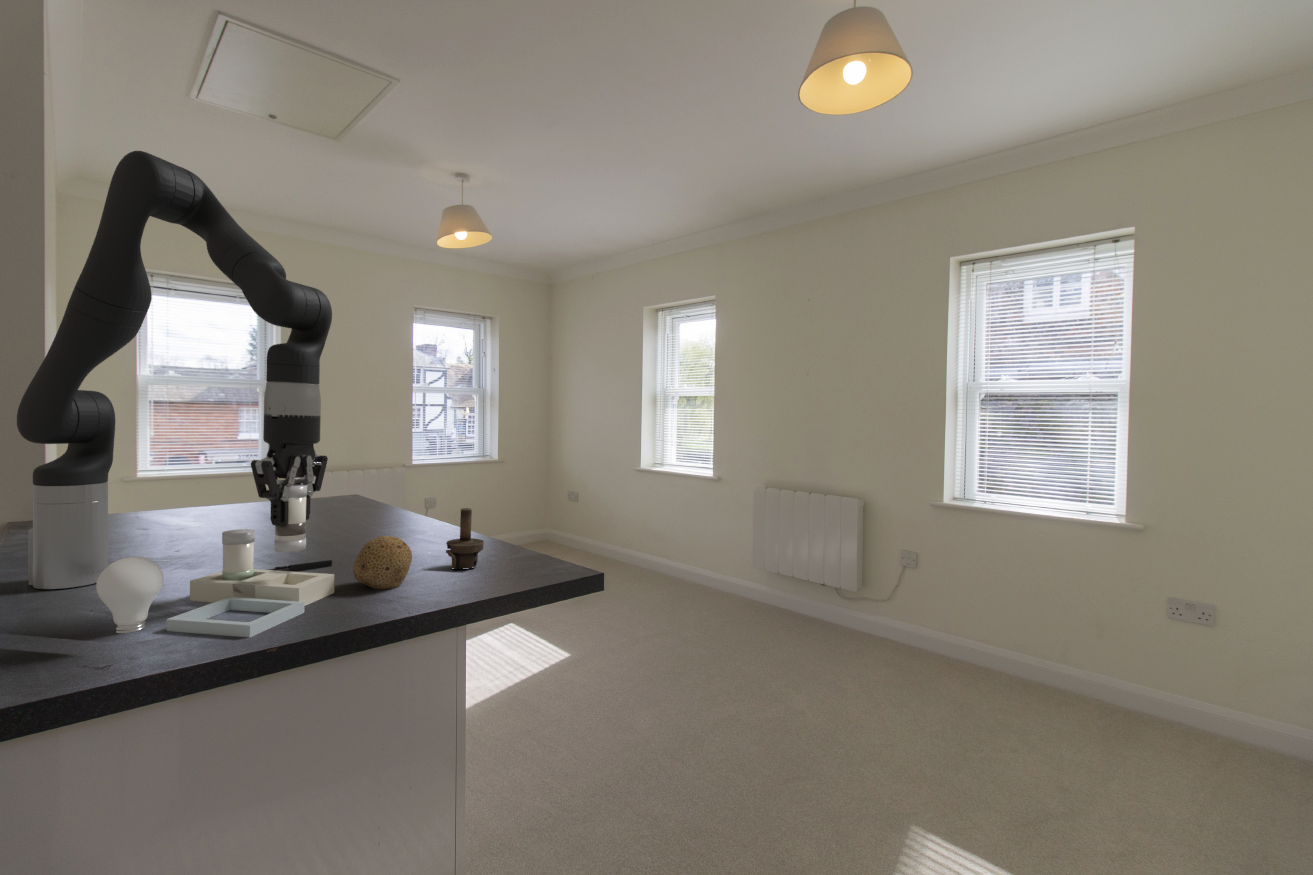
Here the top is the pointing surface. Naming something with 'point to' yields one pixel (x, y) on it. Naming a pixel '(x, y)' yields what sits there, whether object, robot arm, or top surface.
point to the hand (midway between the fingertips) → (290, 522)
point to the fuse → (238, 554)
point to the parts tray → (200, 624)
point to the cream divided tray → (265, 586)
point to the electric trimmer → (304, 566)
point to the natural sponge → (383, 563)
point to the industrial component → (464, 544)
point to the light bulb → (130, 591)
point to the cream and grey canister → (293, 522)
